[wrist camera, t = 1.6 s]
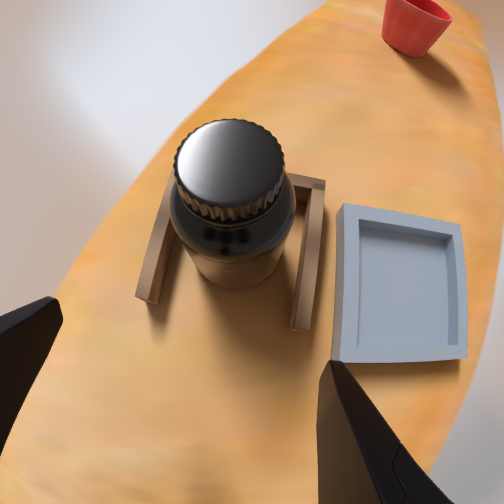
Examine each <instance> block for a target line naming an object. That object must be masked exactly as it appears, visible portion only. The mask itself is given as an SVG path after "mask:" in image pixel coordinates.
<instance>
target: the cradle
mask: <svg viewBox="0 0 504 504" xmlns="http://www.w3.org/2000/svg"><path fill="white" fill-rule="evenodd" d="M287 174H288V175H289V177H290V179H291V181H292V184H293V186H294V190H295V195H296V201H297V202H303V203H306V209H305V217H304V226H303V234H302V242H301V250H300V257H299V265H298V272H297V279H296V286H295V293H294V300H293V307H292V313H291V320H290V326H289V330H291V331H298V332H304V331H308V330H309V328H310V322H311V315H312V307H313V300H314V292H315V285H316V276H317V268H318V259H319V250H320V240H321V230H322V219H323V208H324V195H325V182H326V180H321V179H317V178H312V177H307V176H302V175H297V174H291V173H287ZM174 181H175V178H174V169H172V172H171V175H170V178H169V181H168V184H167V187H166V190H165V193H164V196H163V199H162V202H161V205H160V208H159V211H158V214H157V217H156V221H155V224H154V227H153V231H152V234H151V237H150V241H149V244H148V248H147V251H146V255H145V259H144V262H143V266H142V270H141V274H140V278H139V282H138V286H137V290H136V294H135V297H137V298H139V299H141V300H143V301H145V302H148V303H152V304H157V305H158V300H159V296H160V292H161V288H162V283H163V279H164V275H165V271H166V267H167V263H168V259H169V255H170V251H171V248H172V244H173V240H174V237H175V233H176V231H175V229H174V227H173V224H172V221H171V218H170V213H169V197H170V192H171V189H172V186H173V183H174Z"/></svg>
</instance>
